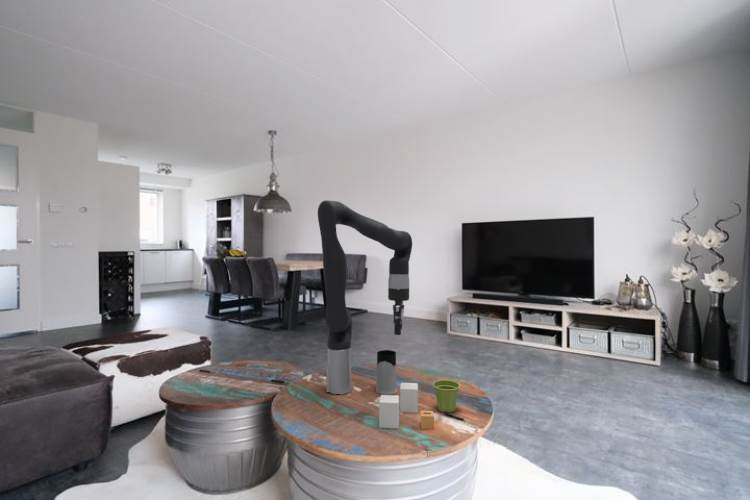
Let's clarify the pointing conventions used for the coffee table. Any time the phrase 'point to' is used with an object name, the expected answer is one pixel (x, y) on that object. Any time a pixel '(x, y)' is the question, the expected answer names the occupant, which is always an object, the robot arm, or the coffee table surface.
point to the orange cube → (427, 420)
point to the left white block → (389, 411)
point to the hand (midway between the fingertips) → (398, 331)
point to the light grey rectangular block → (409, 397)
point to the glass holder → (386, 372)
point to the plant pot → (446, 394)
